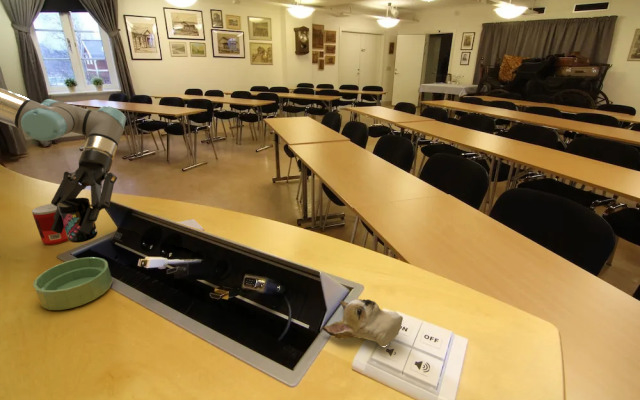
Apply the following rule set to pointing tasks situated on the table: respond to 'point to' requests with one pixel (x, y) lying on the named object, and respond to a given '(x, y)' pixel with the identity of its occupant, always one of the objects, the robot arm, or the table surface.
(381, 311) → the ceramic sculpture
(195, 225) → the charger
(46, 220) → the canned food
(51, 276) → the bowl
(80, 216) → the supplement container
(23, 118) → the robot arm
